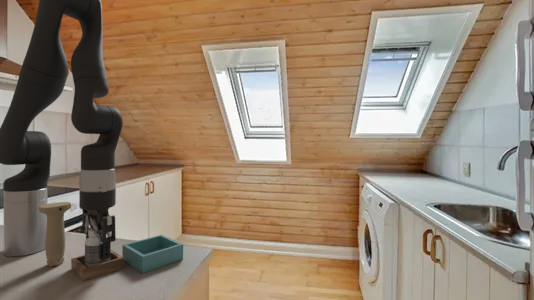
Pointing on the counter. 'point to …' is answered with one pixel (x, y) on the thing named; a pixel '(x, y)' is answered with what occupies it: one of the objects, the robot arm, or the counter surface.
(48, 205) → the handle
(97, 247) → the pill bottle
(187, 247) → the counter surface
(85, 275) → the brown open box
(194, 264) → the counter surface
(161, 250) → the tray
